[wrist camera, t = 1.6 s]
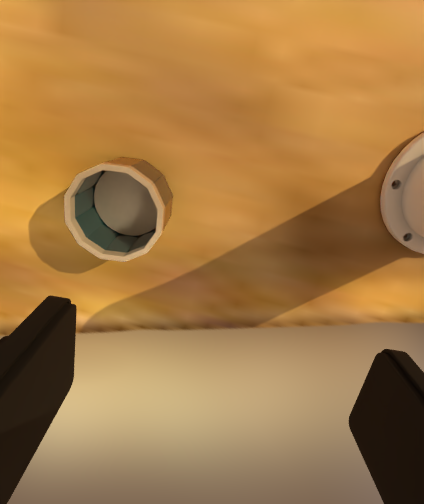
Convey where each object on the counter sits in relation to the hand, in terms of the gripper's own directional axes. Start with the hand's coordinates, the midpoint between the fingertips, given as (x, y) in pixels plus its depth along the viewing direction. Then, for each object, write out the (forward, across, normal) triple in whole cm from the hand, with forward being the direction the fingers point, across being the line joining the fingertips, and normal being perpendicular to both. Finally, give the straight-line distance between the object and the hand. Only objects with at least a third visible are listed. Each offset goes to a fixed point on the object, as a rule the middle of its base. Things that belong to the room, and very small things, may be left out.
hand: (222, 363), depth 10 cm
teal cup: (+24, +8, +1) cm, 25 cm away
